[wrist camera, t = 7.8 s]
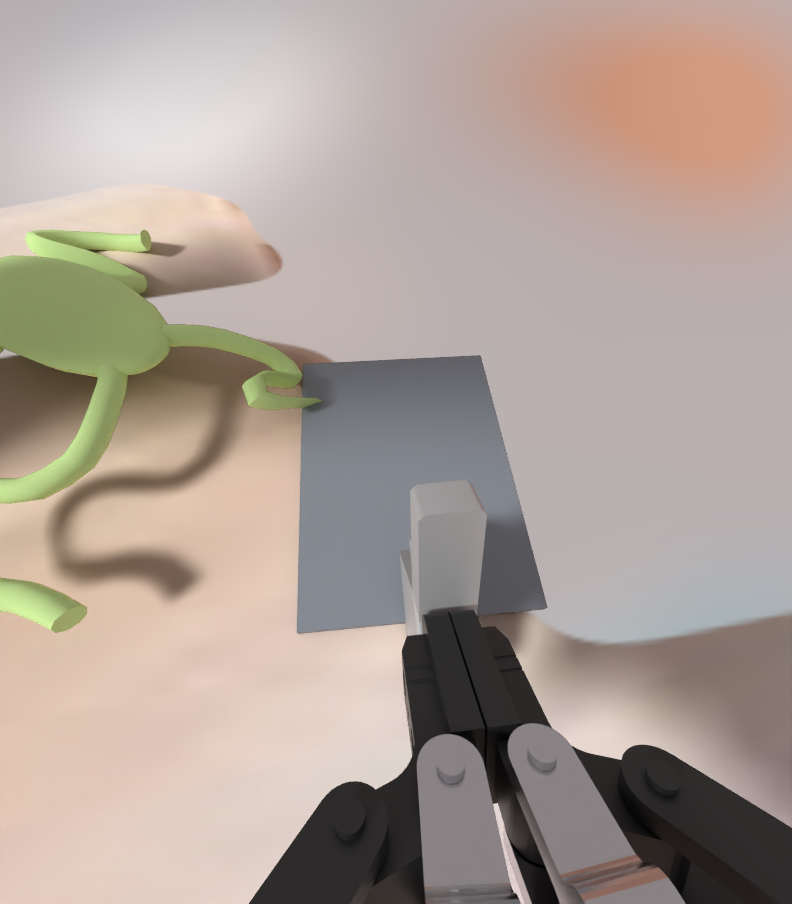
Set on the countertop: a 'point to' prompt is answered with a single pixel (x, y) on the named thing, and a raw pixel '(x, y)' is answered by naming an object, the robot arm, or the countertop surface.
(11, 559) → the countertop surface
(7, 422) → the countertop surface
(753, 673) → the countertop surface
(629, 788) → the robot arm
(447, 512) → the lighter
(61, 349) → the figurine
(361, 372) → the slate pad
